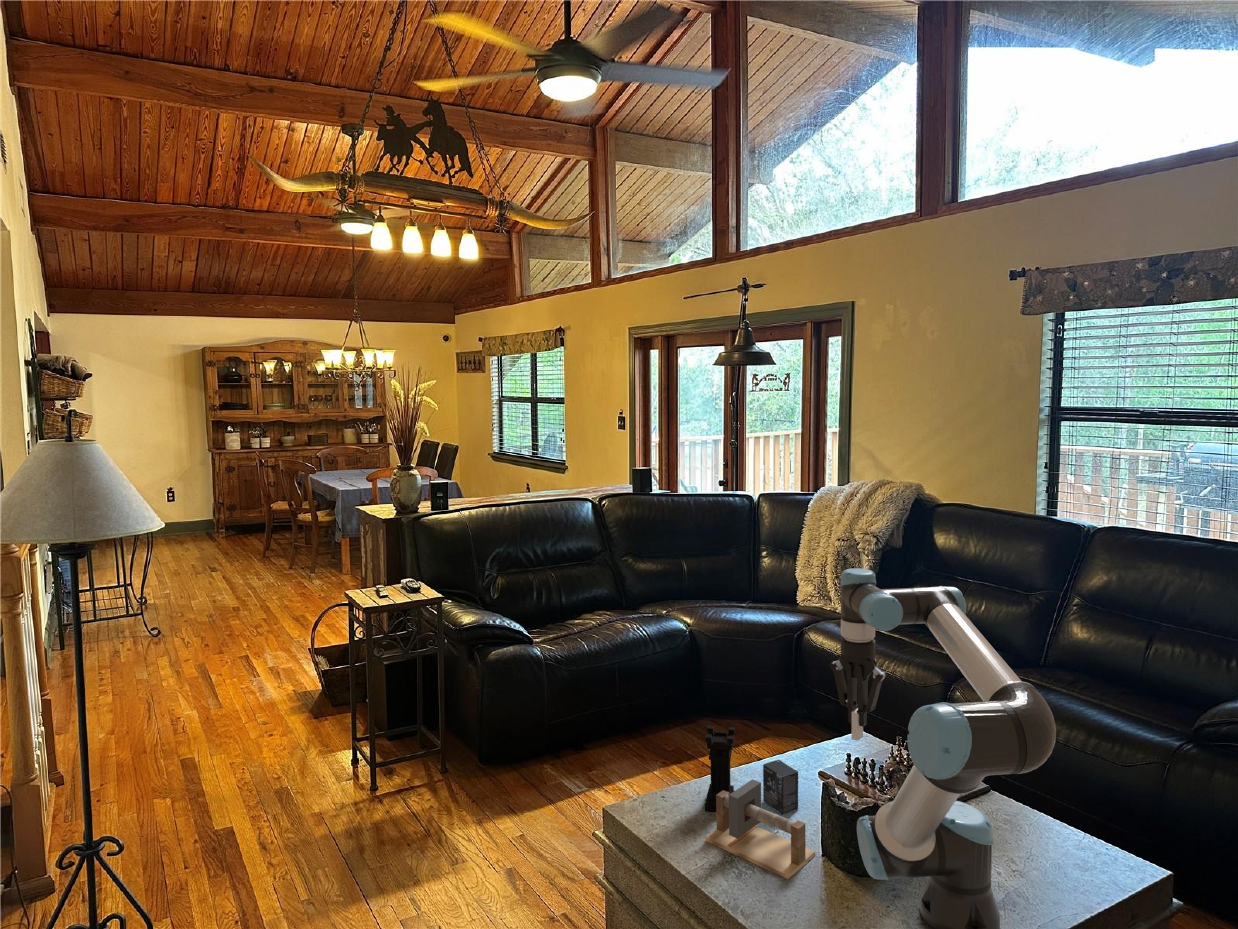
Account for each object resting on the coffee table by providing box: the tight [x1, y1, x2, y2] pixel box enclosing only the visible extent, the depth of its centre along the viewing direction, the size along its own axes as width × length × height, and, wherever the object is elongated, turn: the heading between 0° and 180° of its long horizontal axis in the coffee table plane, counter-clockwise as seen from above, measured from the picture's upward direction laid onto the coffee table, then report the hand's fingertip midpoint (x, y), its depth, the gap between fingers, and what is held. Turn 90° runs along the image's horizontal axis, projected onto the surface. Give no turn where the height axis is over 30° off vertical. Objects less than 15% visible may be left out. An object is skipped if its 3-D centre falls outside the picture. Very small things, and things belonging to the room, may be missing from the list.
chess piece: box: [703, 725, 736, 814], centre depth 207 cm, size 8×8×20 cm
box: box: [762, 758, 799, 815], centre depth 207 cm, size 8×6×11 cm
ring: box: [729, 779, 762, 839], centre depth 190 cm, size 2×10×10 cm, turn 137°
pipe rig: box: [705, 790, 816, 880], centre depth 188 cm, size 23×12×10 cm, turn 47°
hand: (857, 738), depth 180 cm, fingers closed
